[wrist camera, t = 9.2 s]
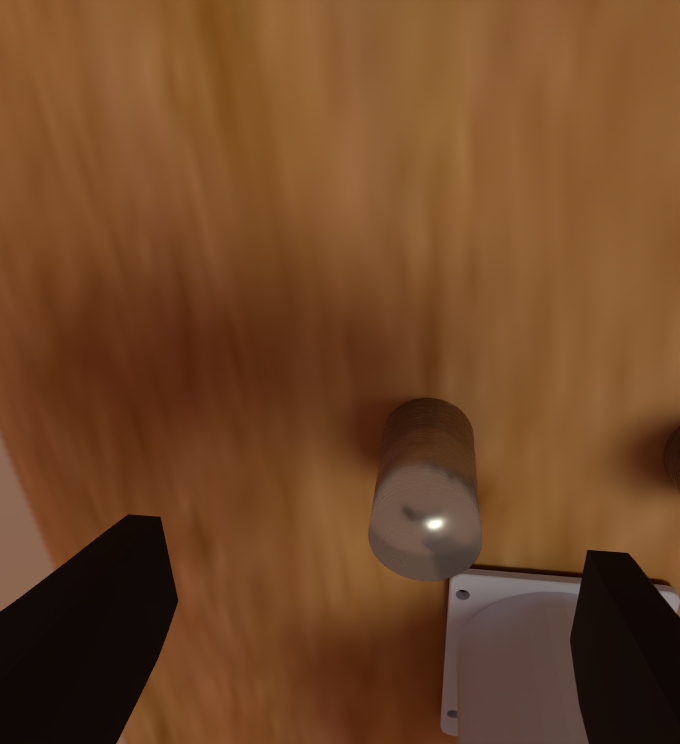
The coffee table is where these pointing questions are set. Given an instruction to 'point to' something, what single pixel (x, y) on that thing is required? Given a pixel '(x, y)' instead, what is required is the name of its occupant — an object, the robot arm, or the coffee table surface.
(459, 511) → the cylinder
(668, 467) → the cylinder
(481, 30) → the coffee table surface
